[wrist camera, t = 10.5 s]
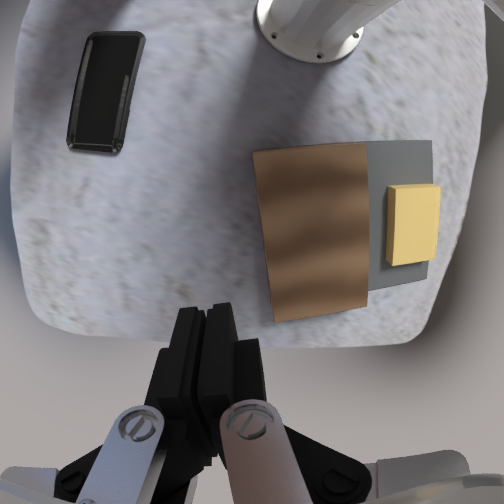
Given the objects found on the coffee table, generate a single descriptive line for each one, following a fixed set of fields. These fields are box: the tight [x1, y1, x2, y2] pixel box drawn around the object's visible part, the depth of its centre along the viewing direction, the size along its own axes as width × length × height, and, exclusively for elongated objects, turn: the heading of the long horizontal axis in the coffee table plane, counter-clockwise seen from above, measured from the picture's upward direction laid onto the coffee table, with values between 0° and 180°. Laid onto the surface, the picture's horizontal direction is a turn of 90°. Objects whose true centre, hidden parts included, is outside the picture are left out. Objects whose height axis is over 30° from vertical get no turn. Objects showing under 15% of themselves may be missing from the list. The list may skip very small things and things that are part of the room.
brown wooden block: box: [252, 142, 369, 322], centre depth 36 cm, size 20×12×4 cm, turn 7°
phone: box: [66, 31, 146, 153], centre depth 30 cm, size 8×1×15 cm
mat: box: [357, 140, 433, 291], centre depth 37 cm, size 20×11×1 cm, turn 7°
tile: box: [385, 184, 441, 266], centre depth 36 cm, size 10×7×2 cm
